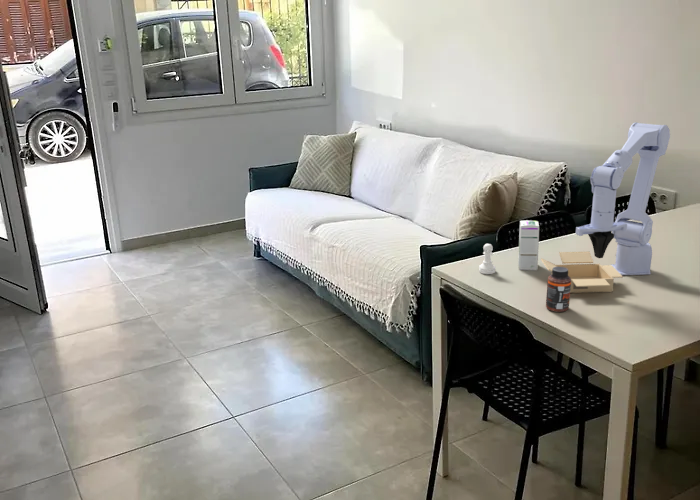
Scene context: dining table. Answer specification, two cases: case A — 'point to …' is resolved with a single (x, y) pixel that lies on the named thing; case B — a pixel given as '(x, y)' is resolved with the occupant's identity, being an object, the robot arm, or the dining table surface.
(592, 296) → the dining table surface
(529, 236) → the syrup box
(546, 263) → the flap long
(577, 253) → the flap short
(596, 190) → the robot arm
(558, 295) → the supplement bottle
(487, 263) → the chess pawn
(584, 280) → the carton
